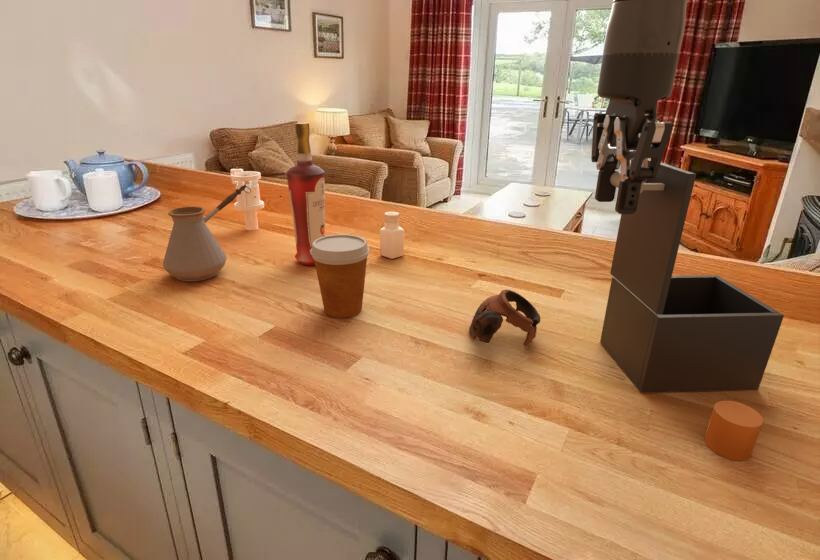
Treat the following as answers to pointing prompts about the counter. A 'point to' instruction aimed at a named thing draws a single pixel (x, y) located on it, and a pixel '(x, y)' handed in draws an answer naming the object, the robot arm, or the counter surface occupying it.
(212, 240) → the coffee pot
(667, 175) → the box lid with handle
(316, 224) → the liquor
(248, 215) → the white plastic fitting
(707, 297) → the dark grey storage bin
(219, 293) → the counter surface
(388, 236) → the white medicine bottle
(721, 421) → the orange cylinder
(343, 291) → the disposable coffee cup
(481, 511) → the counter surface
